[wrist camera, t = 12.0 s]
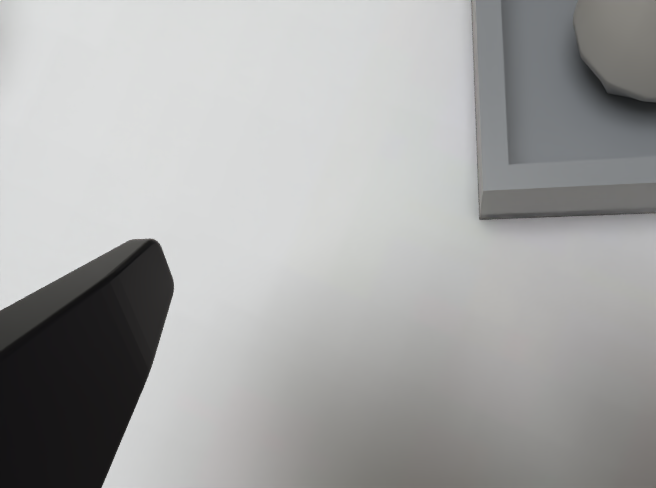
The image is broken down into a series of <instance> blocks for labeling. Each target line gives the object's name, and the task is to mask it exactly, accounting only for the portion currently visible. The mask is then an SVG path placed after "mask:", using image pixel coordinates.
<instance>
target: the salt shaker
mask: <svg viewBox="0 0 656 488" xmlns="http://www.w3.org/2000/svg"><path fill="white" fill-rule="evenodd" d="M573 27H574V32H575V36H576V40H577V44H578V49H579V53H580V57H581V59H582V60H583V61H584V62H585V63H586V65H587V66H588V67H589V68H590V69H591V70H592V71H593V73H594V74H595V75H596V76H597V77H598V78H599V79H600V81H601V82H602V84H603V86H604V88H605V90H606V92H607V93H608V94H613V95H618V96H623V97H628V98H633V99H637V100H640V101H643V102H653V103H656V0H578V2H577V5H576V8H575V12H574V15H573Z"/></svg>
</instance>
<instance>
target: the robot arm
mask: <svg viewBox="0 0 656 488" xmlns="http://www.w3.org/2000/svg"><path fill="white" fill-rule="evenodd" d="M173 291H174V282H173V278H172V275H171V272H170V269H169V267H168V264H167V261H166V259H165V256H164V253H163V250H162V248H161V246H160V244H159V243H158V241H156V240H154V239H133V240H129V241H127V242H125V243H124V244H122V245H120V246H118V247H116V248H114V249H113V250H111V251H109V252H107V253H105V254H103V255H102V256H100V257H98V258H96V259H94V260H92V261H91V262H89V263H87V264H85V265H83V266H81V267H80V268H78V269H76V270H74V271H72V272H70V273H69V274H67V275H65V276H63V277H61V278H59V279H58V280H56V281H54V282H52V283H50V284H48V285H47V286H45V287H43V288H41V289H39V290H37V291H36V292H34V293H32V294H30V295H28V296H26V297H25V298H23V299H21V300H19V301H17V302H15V303H14V304H12V305H10V306H8V307H6V308H4V309H3V310H1V311H0V488H102V485H103V483H104V481H105V478H106V476H107V474H108V471H109V469H110V466H111V464H112V462H113V459H114V457H115V454H116V452H117V450H118V447H119V445H120V443H121V440H122V438H123V435H124V433H125V431H126V428H127V426H128V423H129V421H130V419H131V416H132V414H133V412H134V409H135V407H136V404H137V402H138V400H139V397H140V395H141V393H142V390H143V388H144V385H145V383H146V380H147V378H148V375H149V372H150V370H151V367H152V364H153V361H154V357H155V354H156V351H157V347H158V344H159V340H160V337H161V334H162V330H163V327H164V323H165V320H166V317H167V313H168V310H169V306H170V303H171V300H172V296H173Z"/></svg>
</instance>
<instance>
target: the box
mask: <svg viewBox="0 0 656 488" xmlns="http://www.w3.org/2000/svg"><path fill="white" fill-rule="evenodd" d="M577 2H578V0H471V4H472V31H473V58H474V85H475V112H476V140H477V167H478V194H479V219H506V218H533V217H560V216H586V215H613V214H640V213H656V103H653V102H643V101H640V100H637V99H633V98H628V97H623V96H618V95H613V94H608V93H607V92H606V90H605V88H604V86H603V84H602V82H601V81H600V79H599V78H598V77H597V76H596V75H595V74H594V73H593V71H592V70H591V69H590V68H589V67H588V66H587V65H586V63H585V62H584V61H583V60H582V59H581V57H580V53H579V49H578V44H577V40H576V36H575V32H574V27H573V15H574V12H575V8H576V5H577Z"/></svg>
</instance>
